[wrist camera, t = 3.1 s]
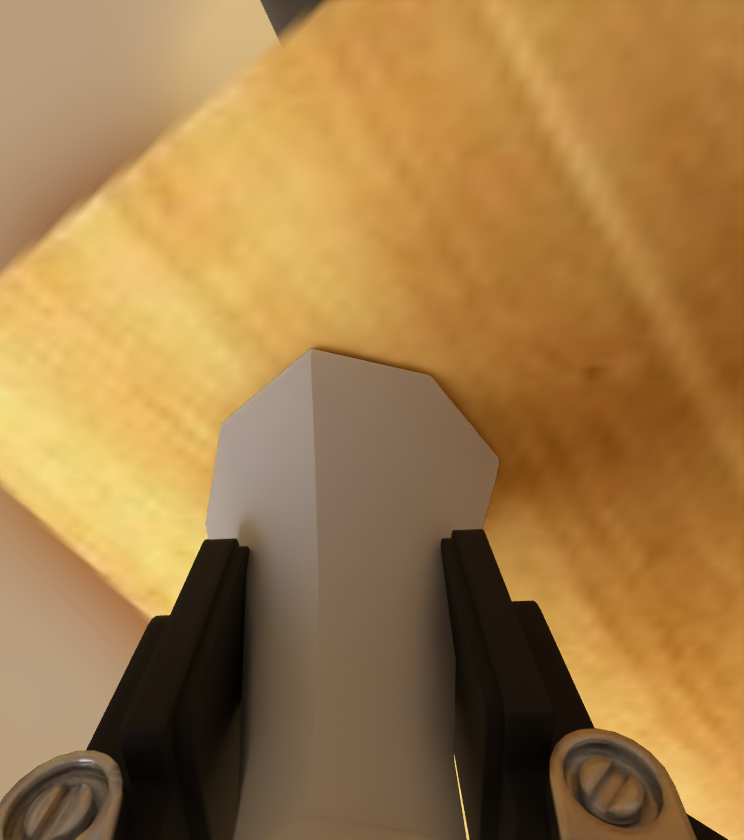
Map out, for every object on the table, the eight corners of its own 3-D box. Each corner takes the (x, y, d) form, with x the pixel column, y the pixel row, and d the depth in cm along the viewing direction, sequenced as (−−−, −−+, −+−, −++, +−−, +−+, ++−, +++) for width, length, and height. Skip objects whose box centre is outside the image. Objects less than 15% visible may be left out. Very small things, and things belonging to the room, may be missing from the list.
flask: (161, 528, 15) (-168, 1079, 6) (296, 291, 13) (134, 529, 3) (393, 640, 16) (441, 1219, 7) (547, 444, 14) (910, 898, 5)
